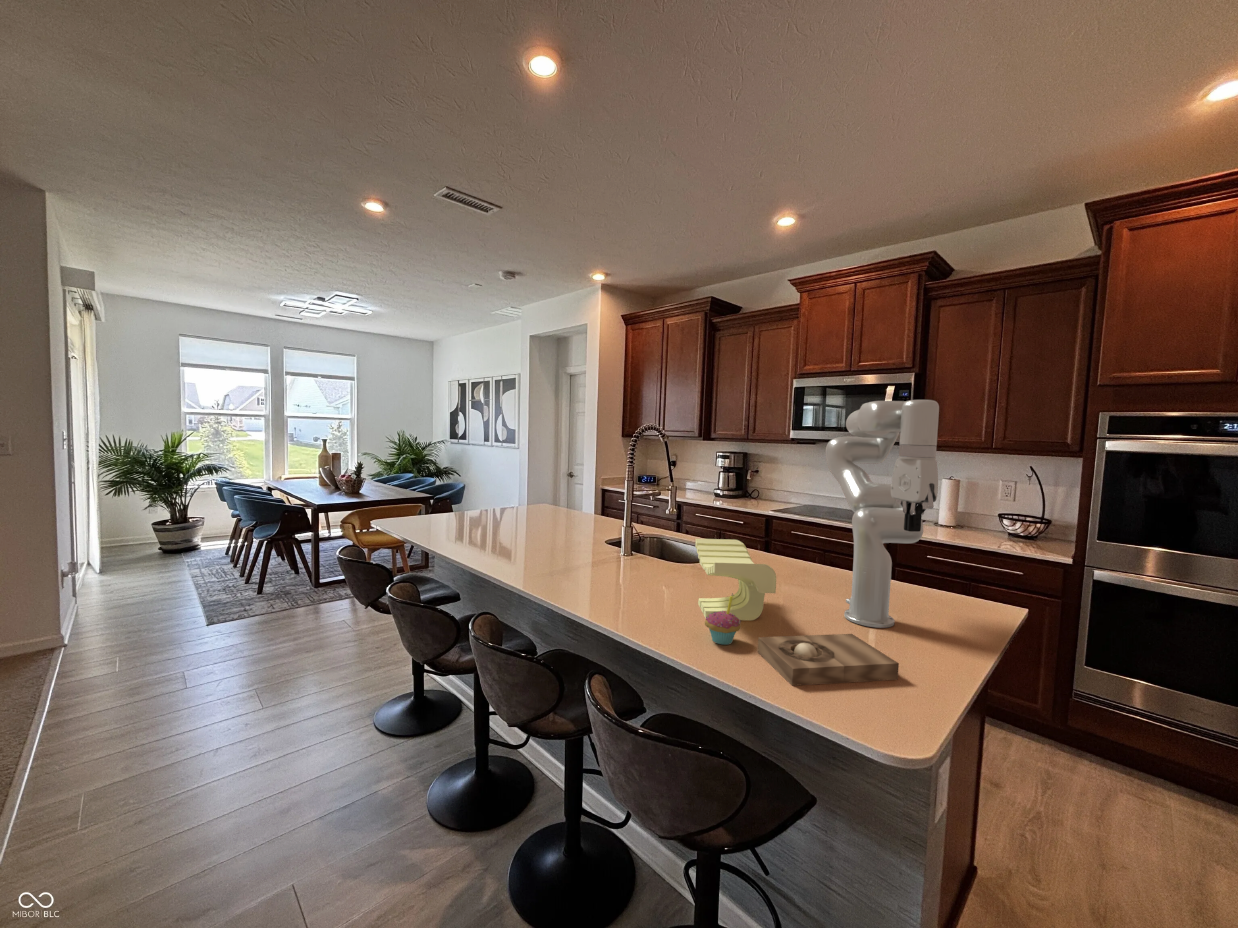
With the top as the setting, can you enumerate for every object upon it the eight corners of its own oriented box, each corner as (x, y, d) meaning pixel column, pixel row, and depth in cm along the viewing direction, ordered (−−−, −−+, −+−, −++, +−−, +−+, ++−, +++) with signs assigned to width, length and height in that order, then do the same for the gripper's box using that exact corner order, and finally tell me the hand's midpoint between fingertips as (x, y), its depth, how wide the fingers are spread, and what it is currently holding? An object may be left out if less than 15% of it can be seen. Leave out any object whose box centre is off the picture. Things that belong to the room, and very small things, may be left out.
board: (850, 647, 124) (851, 633, 124) (897, 679, 108) (898, 663, 108) (757, 651, 120) (758, 637, 119) (792, 685, 104) (792, 668, 104)
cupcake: (734, 634, 130) (737, 587, 129) (744, 648, 121) (746, 598, 121) (701, 633, 130) (703, 587, 129) (708, 647, 121) (710, 598, 120)
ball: (786, 652, 116) (803, 644, 117) (799, 673, 113) (817, 664, 114) (793, 644, 112) (812, 635, 113) (807, 665, 109) (826, 657, 111)
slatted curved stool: (773, 632, 132) (777, 564, 131) (711, 630, 132) (714, 562, 131) (743, 595, 162) (746, 539, 161) (693, 594, 162) (695, 538, 161)
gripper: (881, 451, 127) (876, 525, 128) (927, 454, 112) (921, 537, 113) (908, 452, 128) (903, 525, 129) (957, 455, 113) (951, 537, 114)
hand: (912, 530), depth 121 cm, fingers closed
